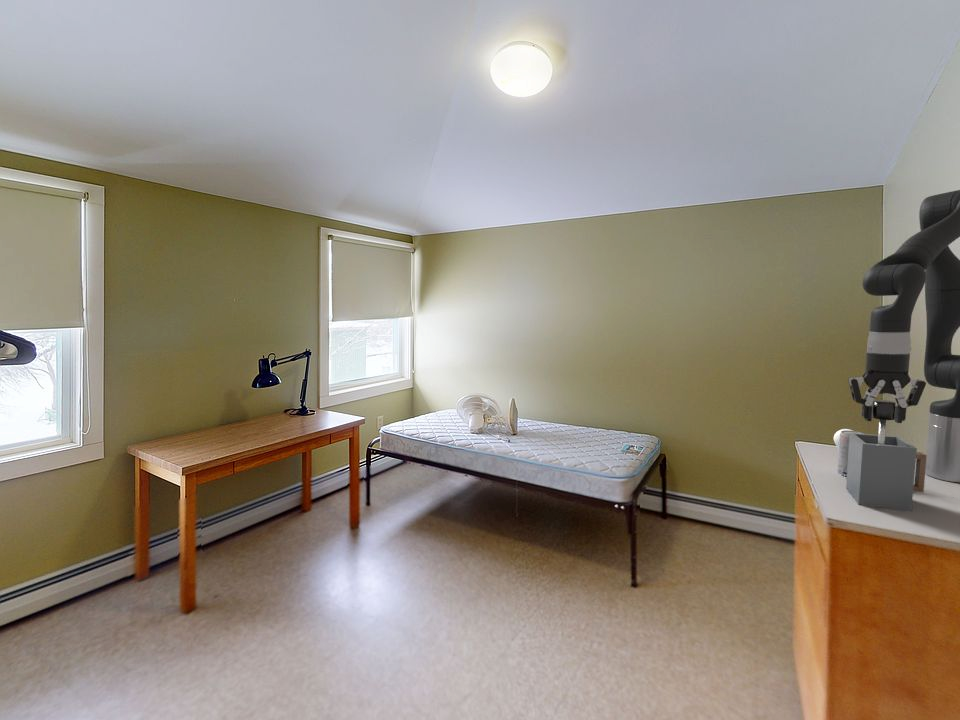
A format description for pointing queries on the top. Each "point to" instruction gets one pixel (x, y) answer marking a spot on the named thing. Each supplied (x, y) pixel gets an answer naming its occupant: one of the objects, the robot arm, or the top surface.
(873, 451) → the grey square mug
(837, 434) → the lightbulb
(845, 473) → the energy drink
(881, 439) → the plunger
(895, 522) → the top surface
